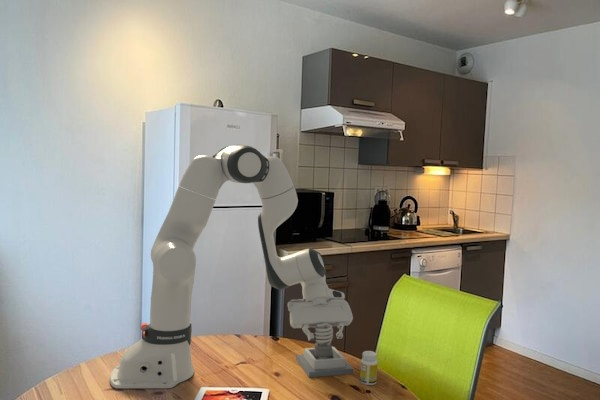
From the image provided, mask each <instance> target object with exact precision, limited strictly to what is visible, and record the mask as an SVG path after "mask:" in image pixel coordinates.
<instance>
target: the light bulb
mask: <svg viewBox="0 0 600 400" xmlns="http://www.w3.org/2000/svg"><path fill="white" fill-rule="evenodd" d="M322 326H324V327H322ZM314 329H315V331H314V339H315V343H314V348H315V354H316V355H317V356H319V360H320V359H327V357H328V356H330V355H331V351H332V347H333V345H332V341H333V338H334V329H333V326H331V325H330V324H328V323H324V324H317V327H314Z"/></svg>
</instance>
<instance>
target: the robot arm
mask: <svg viewBox="0 0 600 400" xmlns="http://www.w3.org/2000/svg"><path fill="white" fill-rule="evenodd" d="M228 181H230V182H232V183H237V184H253V185H254V187H255V188H256V189H257V193H258V195H259V198H260V200H261V212H260V213H259V214H258V217H257V226H258V228H257V229H258V234H259V238H260V243H261V247H262V254H263V258H264V264H265V269H266V270H265V272H266V273H265V274H266V280H267V281H268V283H269V284H268V285H269V286H271V287H272V288H275V289H276V290H280V291H282V290H284V289H287V288H289V287H291V286H294V285H298V284H300V285H301V287H302V288H301V293H302V298H297V299H295V298H292V299H290V300H289V301H288V302H287V304H286V305H287V310H288V312H289V324H290V327H291V328H292V329H302V332H303V333H304V334H305V335H306V337H307V341H308V342H309V341H314V340H315V333H314V332H311V331H310V330H309V329H310V328H317V324H324V323H328V324H330V325H331V326H332V327H337V329H338V331H337V332H336V333H335V335H336V339H338V340H340V339H343V337H344V333H343V330H344V326H349V325H350V324H351V323H352V322H353V320H354V316H353V313H352V309H351V306H350V304H349V303H348V301H347V300H345V298H346V297H345V296H346V295H345V293H344V292H342V291H339V290H335V289H333V288H329V285H328V284H327V282H326V279H327V276H326V272H327V269H326V267H325V262H324V258H323V256H322V254H321V253H320V252H318V251H317V250H316V249H314V248H312V247H310V248H305V249H302V250H300V251H296V252H293V253H290V254H288V255H284V256H279V255H278V253H277V248H276V243H275V238H274V232H275V231H276V230H277V228H278V227H280V226H281V225H282V224H283V223H284V222H286V221H287V220H288V219H289V218H290V217H291V216H292V215H293V214H294V212H295V210H296V209H297V207H298V204H299V203H298V202H299V199H298V194H297V191H296V190H297V189H296V188H295V185H294V183H293V180H292V178H291V176H290V174H289V171H288V169H287V167H286V166H285V164H284V162H283V161H282V160H281V158H279V157H277V156H273V155H270V156H269V155H268V156H265V155H264V154H262V152H261V151H259V150H258V149H257V148H255V147H253V146H250V145H242V144H233V145H227V146H225V147H223V148H221V149H219V150H218V152H216V153H215V154H214V155H212V156H210V155H205V154H202V155H197V156H195V157H194V158H193V159H192V160H191V161H190V163H189V165H188V166H187V168H186V169H185V172H184V174H183V175H182V178H181V180H180V182H179V185H178V187H177V190H176V192H175V195H174V197H173V199H172V201H171V202H172V203H171V204H170V208H169V210H168V212H167V214H166V216H165V218H164V221H163V222H162V224H161V227H160V229H159V231H158V234H157V236H156V238H155V240H154V242H153V245H152V247H151V249H150V259H151V262H152V268H153V270H152V274H153V275H152V286H151V293H150V294H151V296H150V309H149V310H150V312H149V314H150V315H149V316H150V317H149V324H148V323H147V322H142V324H141V326H140V330H141V338H140V339H139V340H138V341H136V342H135V343H134V344H132V345H131V346H129V347H128V348H126V350H124V352H123V353H122V356H121V358H120V362H119V364H118V365H116V366H115V367H114V368H113V369H112V370H111V372H110V377H109V383H110V385H111V386H112V388H114V389H172V388H174V387H175V386H177V385H178V384H180V383H182V382H185V381H187V380H188V379H191V377H193V375H194V374H195V368H194V365H193V360H192V352H191V351H192V350H191V344H192V343H191V342H192V337H193V328H192V327H193V326H192V322H191V309H192V294H193V288H194V281H195V274H196V264H197V257H196V254H195V251H194V247H195V245H196V243H197V242H198V240H199V238H200V235H201V234H202V232H203V231H204V229H205V227H206V226H207V224H208V222H209V218H210V216H211V215H212V214H211V213H212V210H213V208H214V205H215V203H216V200H217V197H218V195H219V192H220V190H221V188H222V186H223V185H224V184H225V183H226V182H228ZM322 327H324V326H322ZM324 328H325V327H324Z"/></svg>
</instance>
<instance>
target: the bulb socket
mask: <svg viewBox="0 0 600 400" xmlns="http://www.w3.org/2000/svg"><path fill="white" fill-rule="evenodd" d="M295 360H296V361H297V363H298V365H299V366H300V367H301V368H302V369H303V372H304V373H305V374H306V376H307V377H308V378H318V377H319V378H320V377H328V376H331V377H332V376H341V375H350V374H354V367H353V366H352V365H351V364H350V363H348V361H347V359H346V358H345V356H343V354H342V353H341V352H340V351H339V350H338V349H337V348H336V347H335V346H332V351H331V355H330V356H328V357H327V359H320V360H319V356H317V355H316V354H315V347H308V348H307V347H306V348H303V354H296V356H295Z"/></svg>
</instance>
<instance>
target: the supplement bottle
mask: <svg viewBox="0 0 600 400" xmlns="http://www.w3.org/2000/svg"><path fill="white" fill-rule="evenodd" d="M377 355H378V354H377V353H376V352H375V351H372V350H364V351H363V352H362V358H361V359H360V373H359V382H360V383H361V384H363V385H365V386H366V385H367V386H374V385H376V384H377V381H378V363H379V362H378V359H377Z"/></svg>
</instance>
